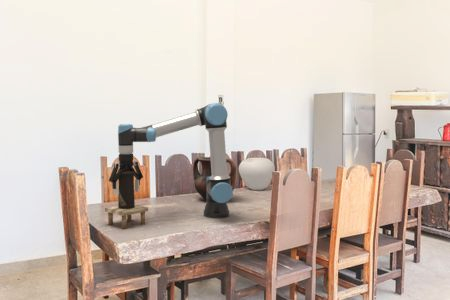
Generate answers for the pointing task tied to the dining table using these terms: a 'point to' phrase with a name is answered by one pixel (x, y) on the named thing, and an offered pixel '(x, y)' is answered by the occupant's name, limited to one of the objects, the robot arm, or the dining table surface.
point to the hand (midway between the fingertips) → (126, 193)
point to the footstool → (125, 212)
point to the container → (126, 190)
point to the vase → (256, 172)
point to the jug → (209, 174)
